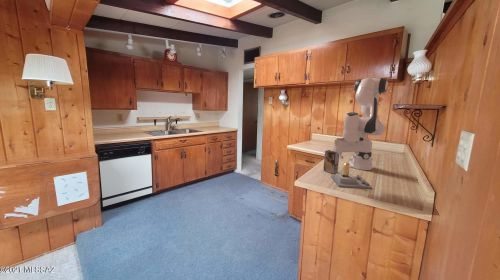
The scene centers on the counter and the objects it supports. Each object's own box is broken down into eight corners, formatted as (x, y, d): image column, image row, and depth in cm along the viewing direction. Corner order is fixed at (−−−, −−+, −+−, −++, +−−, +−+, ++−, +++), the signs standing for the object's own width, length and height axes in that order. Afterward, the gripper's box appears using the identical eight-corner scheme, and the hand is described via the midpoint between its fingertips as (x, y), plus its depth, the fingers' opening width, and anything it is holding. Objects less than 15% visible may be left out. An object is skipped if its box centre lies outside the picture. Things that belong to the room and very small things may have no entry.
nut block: (330, 176, 150) (331, 171, 149) (359, 178, 148) (360, 172, 147) (338, 186, 132) (339, 180, 131) (371, 188, 130) (372, 182, 129)
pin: (341, 179, 141) (343, 162, 139) (345, 179, 142) (347, 162, 140) (344, 181, 138) (346, 164, 136) (348, 181, 139) (350, 163, 136)
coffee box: (338, 172, 160) (340, 152, 157) (333, 174, 156) (336, 153, 153) (327, 169, 167) (329, 149, 164) (322, 170, 163) (324, 150, 160)
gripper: (337, 139, 130) (335, 160, 133) (367, 138, 133) (365, 159, 136) (332, 137, 136) (330, 157, 139) (361, 136, 139) (358, 156, 142)
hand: (347, 158), depth 138 cm, fingers open, 8 cm apart
